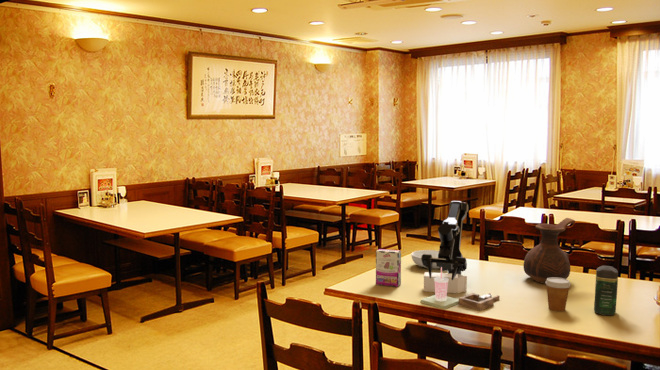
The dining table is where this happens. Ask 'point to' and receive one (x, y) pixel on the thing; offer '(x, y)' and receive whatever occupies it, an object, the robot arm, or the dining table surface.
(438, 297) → the beverage cup
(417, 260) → the serving bowl
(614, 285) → the coffee jar
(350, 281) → the dining table surface
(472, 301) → the brown wooden tray
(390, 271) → the candy bar box
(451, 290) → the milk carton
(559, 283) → the disposable coffee cup
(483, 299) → the key bar
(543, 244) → the jug
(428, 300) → the pale green square pad
